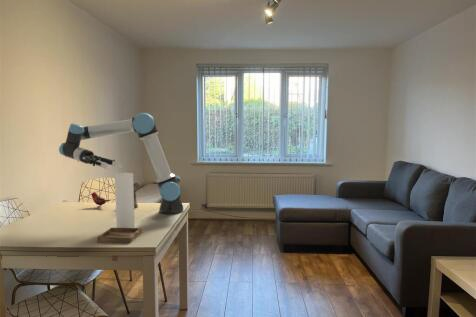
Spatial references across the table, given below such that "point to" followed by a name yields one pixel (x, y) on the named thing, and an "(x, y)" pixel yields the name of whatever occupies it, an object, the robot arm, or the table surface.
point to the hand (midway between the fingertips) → (114, 166)
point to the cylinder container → (124, 200)
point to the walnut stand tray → (120, 235)
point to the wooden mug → (135, 194)
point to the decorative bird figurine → (98, 199)
